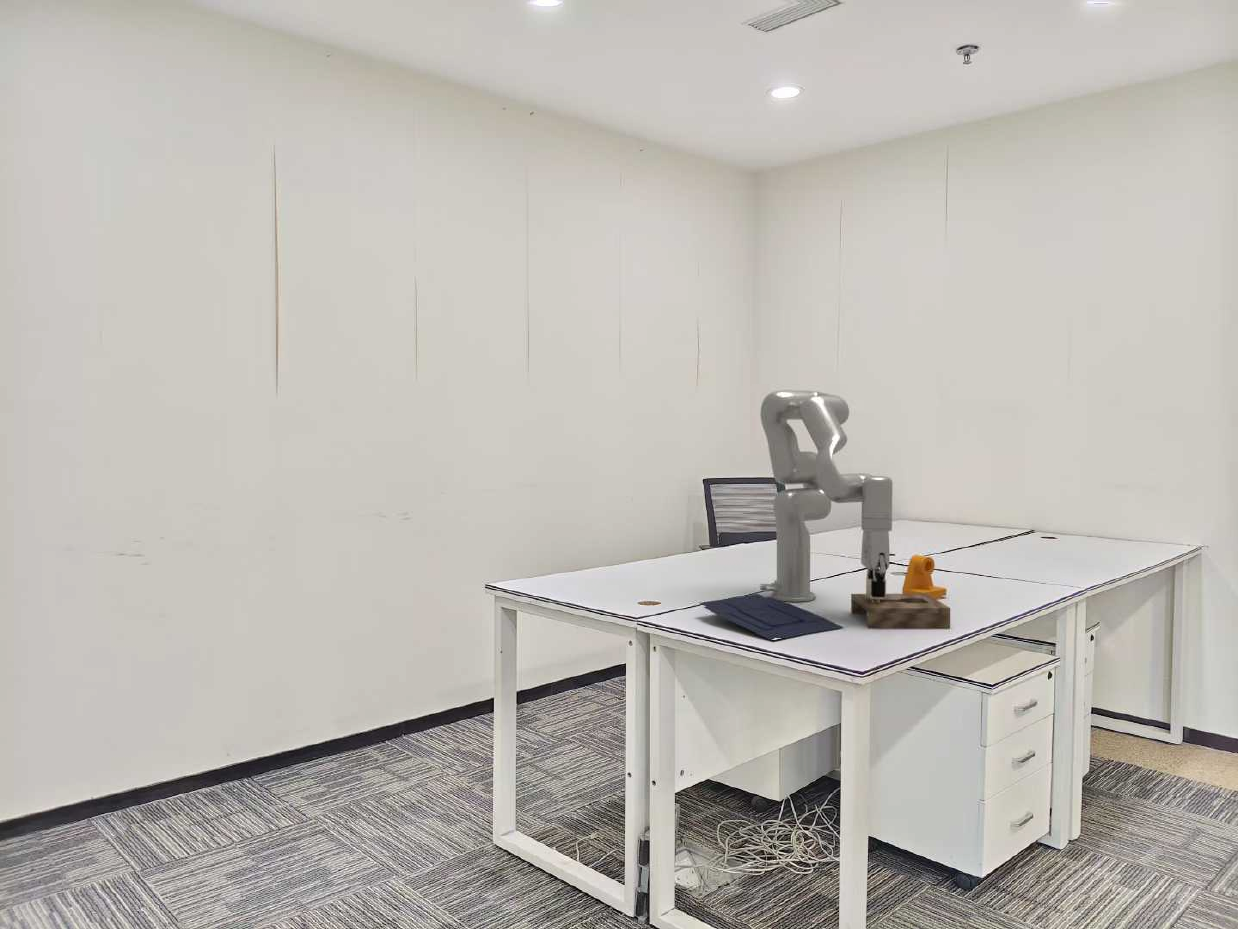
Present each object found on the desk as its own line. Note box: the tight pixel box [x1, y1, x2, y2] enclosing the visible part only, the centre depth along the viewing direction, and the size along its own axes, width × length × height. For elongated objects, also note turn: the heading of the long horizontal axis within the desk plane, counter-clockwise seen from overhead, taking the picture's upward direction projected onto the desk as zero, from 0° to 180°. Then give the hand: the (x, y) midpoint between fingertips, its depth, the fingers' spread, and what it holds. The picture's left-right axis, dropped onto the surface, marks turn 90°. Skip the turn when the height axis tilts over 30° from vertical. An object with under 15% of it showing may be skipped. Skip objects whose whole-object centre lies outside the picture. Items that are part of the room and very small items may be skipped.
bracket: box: [901, 554, 947, 601], centre depth 258 cm, size 11×7×12 cm, turn 122°
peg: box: [865, 576, 887, 620], centre depth 230 cm, size 4×4×10 cm
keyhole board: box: [850, 593, 951, 629], centre depth 230 cm, size 20×18×5 cm
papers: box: [699, 593, 844, 641], centre depth 228 cm, size 24×30×4 cm
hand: (875, 594), depth 230 cm, fingers closed on peg, 4 cm apart
